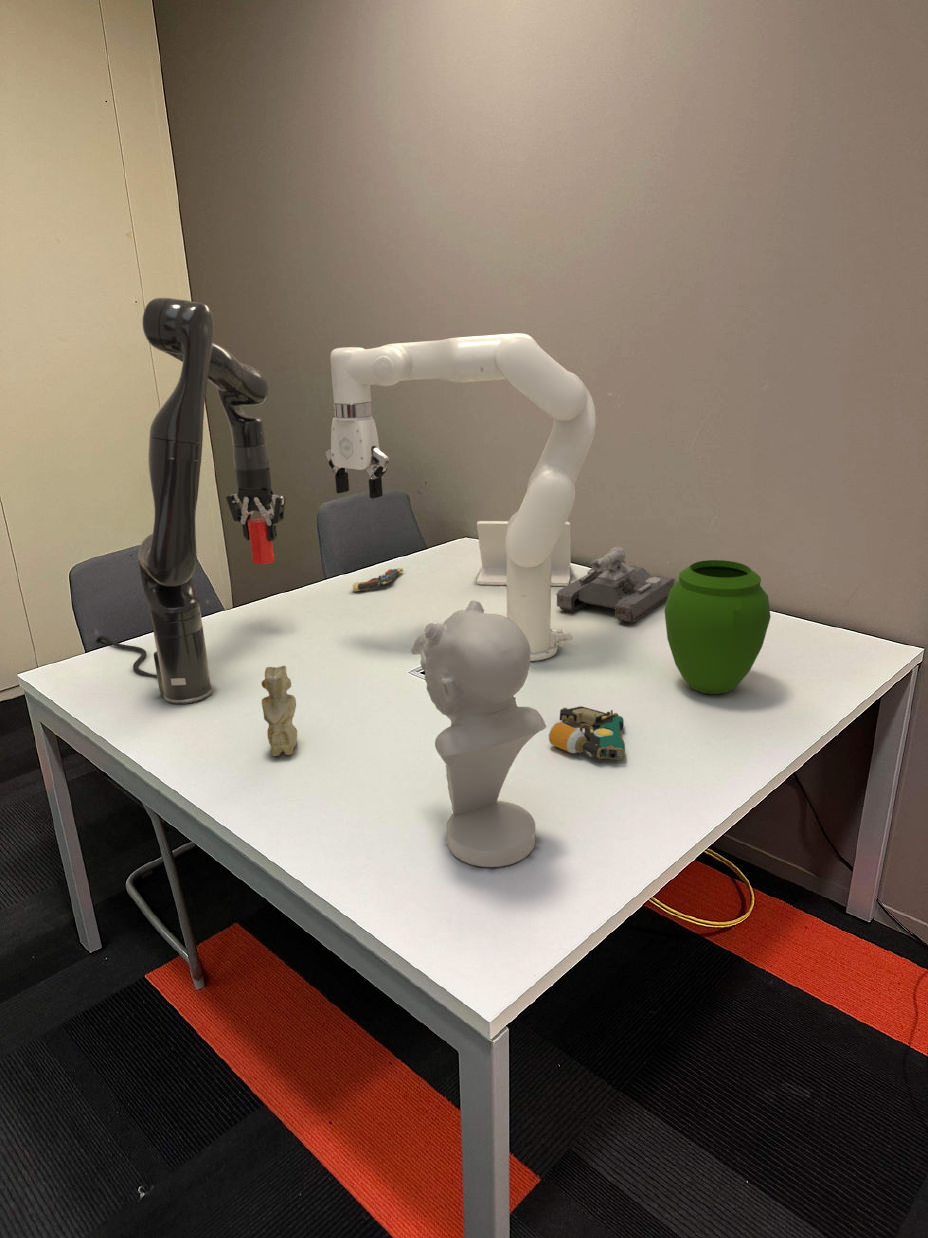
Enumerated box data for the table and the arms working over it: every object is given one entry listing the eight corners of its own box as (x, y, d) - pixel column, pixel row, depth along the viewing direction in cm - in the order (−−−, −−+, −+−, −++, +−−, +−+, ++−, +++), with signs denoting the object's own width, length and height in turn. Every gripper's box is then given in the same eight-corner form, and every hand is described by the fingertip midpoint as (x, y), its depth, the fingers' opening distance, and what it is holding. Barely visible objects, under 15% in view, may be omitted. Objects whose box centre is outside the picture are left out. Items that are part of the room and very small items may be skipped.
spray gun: (565, 715, 160) (645, 732, 154) (534, 751, 146) (620, 771, 140) (567, 694, 159) (647, 710, 153) (536, 729, 144) (623, 748, 138)
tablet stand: (569, 585, 229) (570, 524, 223) (476, 584, 232) (475, 523, 226) (570, 566, 246) (571, 508, 240) (484, 564, 249) (483, 507, 243)
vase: (773, 678, 171) (786, 561, 163) (746, 717, 156) (759, 591, 147) (679, 659, 181) (686, 549, 173) (645, 694, 166) (651, 575, 157)
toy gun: (349, 584, 228) (385, 580, 226) (370, 567, 246) (403, 564, 244) (351, 593, 229) (387, 590, 227) (371, 576, 246) (404, 573, 244)
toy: (603, 584, 229) (605, 530, 224) (673, 597, 218) (677, 540, 213) (555, 612, 210) (556, 553, 205) (630, 627, 199) (633, 566, 194)
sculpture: (303, 738, 153) (295, 661, 148) (297, 758, 146) (289, 679, 141) (270, 740, 153) (261, 663, 148) (263, 760, 146) (253, 680, 141)
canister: (278, 558, 198) (273, 517, 194) (269, 564, 193) (264, 523, 190) (258, 557, 199) (253, 517, 195) (248, 563, 194) (243, 522, 191)
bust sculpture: (481, 772, 140) (476, 569, 128) (565, 848, 120) (569, 617, 108) (392, 800, 134) (378, 588, 121) (465, 886, 114) (457, 642, 101)
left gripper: (214, 467, 187) (224, 543, 193) (272, 469, 183) (281, 546, 189) (232, 461, 193) (241, 534, 199) (289, 462, 189) (297, 537, 195)
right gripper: (310, 411, 175) (317, 493, 181) (371, 416, 165) (377, 503, 171) (336, 407, 180) (343, 487, 186) (397, 411, 170) (402, 495, 176)
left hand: (260, 539), depth 194 cm, fingers closed on canister, 5 cm apart
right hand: (359, 494), depth 179 cm, fingers open, 9 cm apart
